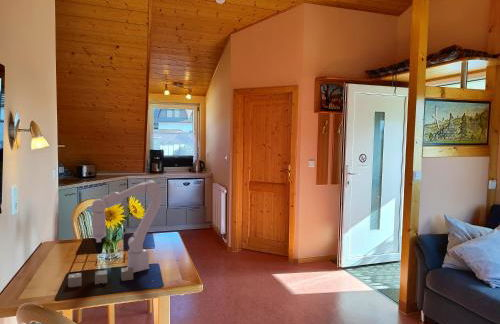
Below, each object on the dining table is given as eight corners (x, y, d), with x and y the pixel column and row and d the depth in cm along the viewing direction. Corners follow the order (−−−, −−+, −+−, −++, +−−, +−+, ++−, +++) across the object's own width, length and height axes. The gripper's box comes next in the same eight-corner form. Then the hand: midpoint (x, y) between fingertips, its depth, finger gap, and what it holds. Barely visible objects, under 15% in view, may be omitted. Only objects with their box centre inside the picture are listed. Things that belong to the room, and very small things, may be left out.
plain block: (107, 278, 164) (107, 270, 164) (107, 282, 160) (107, 273, 160) (95, 280, 163) (95, 271, 162) (94, 284, 158) (94, 275, 158)
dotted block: (81, 281, 161) (81, 272, 160) (81, 285, 156) (81, 276, 156) (68, 283, 159) (68, 273, 158) (68, 287, 154) (68, 277, 154)
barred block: (132, 275, 169) (132, 266, 168) (133, 279, 164) (133, 270, 164) (121, 276, 167) (121, 267, 167) (121, 280, 162) (121, 271, 162)
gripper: (90, 222, 175) (90, 249, 175) (88, 229, 161) (89, 259, 162) (106, 221, 177) (106, 248, 178) (105, 227, 164) (106, 257, 164)
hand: (99, 253), depth 170 cm, fingers closed
